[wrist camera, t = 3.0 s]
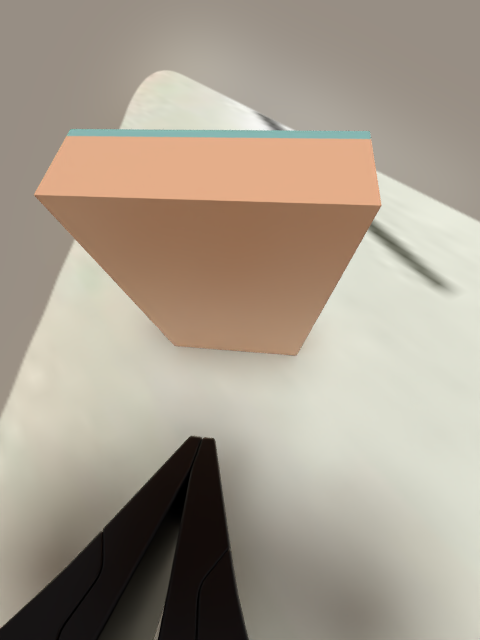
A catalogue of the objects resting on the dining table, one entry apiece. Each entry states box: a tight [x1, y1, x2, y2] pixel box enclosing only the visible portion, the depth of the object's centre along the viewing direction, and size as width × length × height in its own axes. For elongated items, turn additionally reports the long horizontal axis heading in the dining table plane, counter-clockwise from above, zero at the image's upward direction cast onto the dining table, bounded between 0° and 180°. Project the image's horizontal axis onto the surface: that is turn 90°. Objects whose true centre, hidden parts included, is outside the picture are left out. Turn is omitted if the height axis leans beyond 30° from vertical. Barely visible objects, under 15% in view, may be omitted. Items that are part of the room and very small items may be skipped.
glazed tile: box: [34, 129, 381, 356], centre depth 12 cm, size 2×8×12 cm, turn 85°
